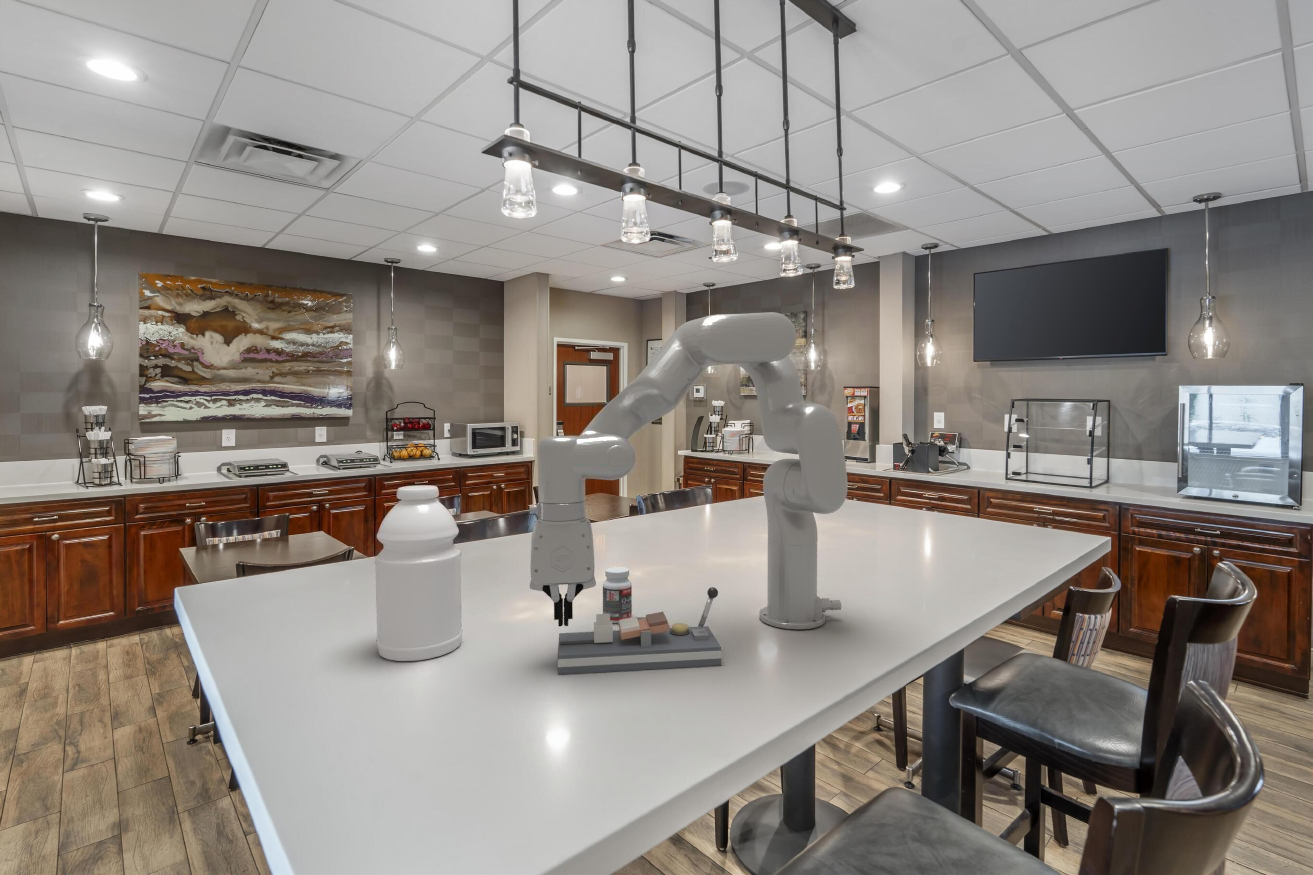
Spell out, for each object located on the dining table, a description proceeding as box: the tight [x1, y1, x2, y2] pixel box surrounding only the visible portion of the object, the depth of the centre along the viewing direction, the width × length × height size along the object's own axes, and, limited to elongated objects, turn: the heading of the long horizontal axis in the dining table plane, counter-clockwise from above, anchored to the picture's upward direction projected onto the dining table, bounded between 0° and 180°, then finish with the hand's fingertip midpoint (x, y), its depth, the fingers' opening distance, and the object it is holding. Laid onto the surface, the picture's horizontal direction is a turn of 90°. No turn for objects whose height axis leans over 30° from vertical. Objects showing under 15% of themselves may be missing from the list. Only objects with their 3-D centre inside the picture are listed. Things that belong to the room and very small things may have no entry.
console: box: [557, 616, 722, 676], centre depth 104 cm, size 26×10×6 cm, turn 98°
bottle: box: [374, 484, 463, 662], centre depth 109 cm, size 14×14×28 cm
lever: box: [697, 586, 719, 629], centre depth 106 cm, size 2×2×7 cm
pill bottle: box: [602, 566, 633, 624], centre depth 124 cm, size 6×6×10 cm
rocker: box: [617, 611, 671, 640], centre depth 104 cm, size 8×5×2 cm, turn 97°
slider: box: [593, 613, 614, 643], centre depth 103 cm, size 3×2×4 cm
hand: (563, 623), depth 103 cm, fingers closed
